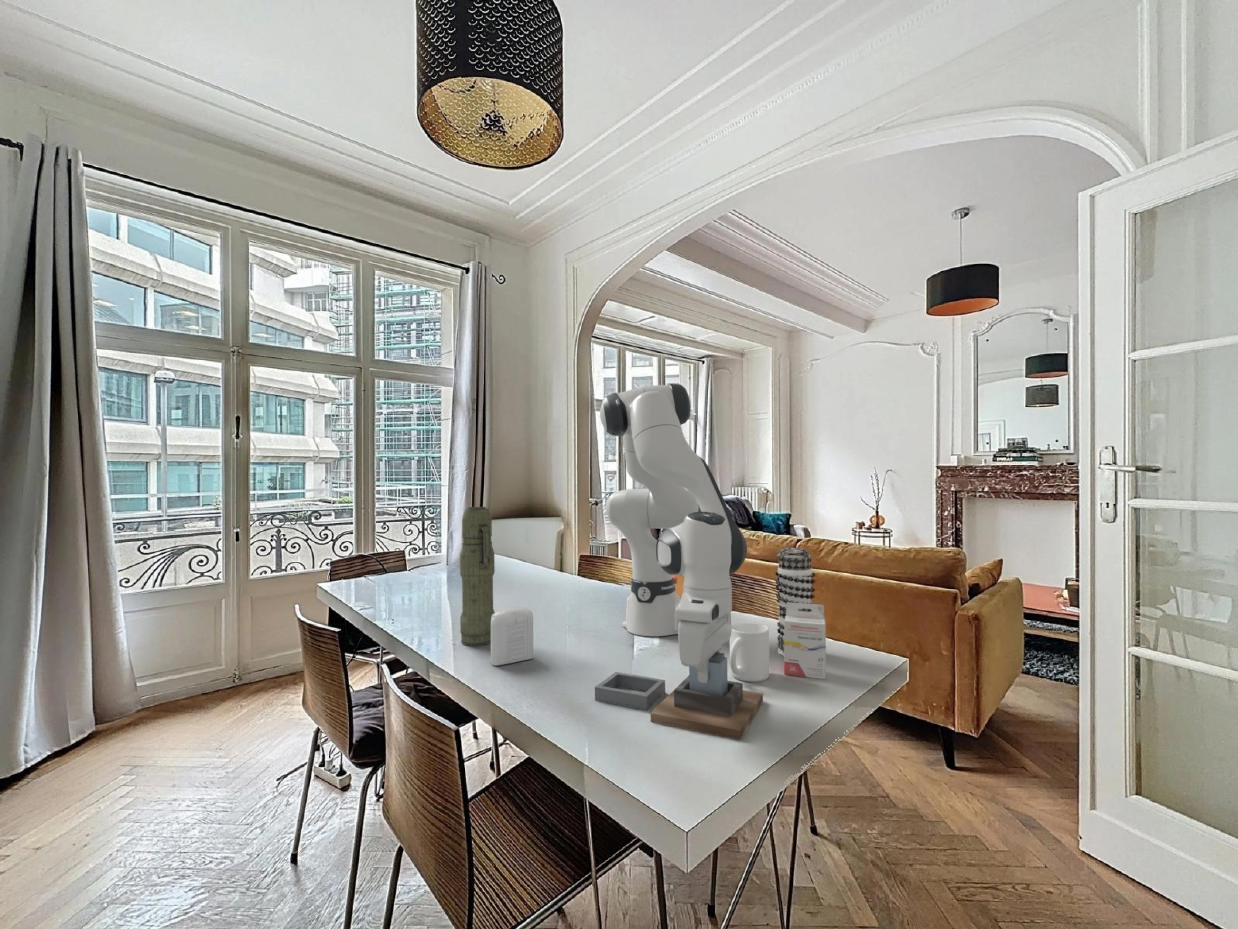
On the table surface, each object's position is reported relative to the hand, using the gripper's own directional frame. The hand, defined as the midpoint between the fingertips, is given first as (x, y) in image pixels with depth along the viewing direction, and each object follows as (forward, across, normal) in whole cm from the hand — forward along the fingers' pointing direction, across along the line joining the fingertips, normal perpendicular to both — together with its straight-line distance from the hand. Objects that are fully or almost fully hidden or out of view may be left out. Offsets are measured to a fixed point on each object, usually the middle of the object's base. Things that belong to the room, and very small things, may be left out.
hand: (708, 676), depth 104 cm
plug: (+4, 0, 0) cm, 4 cm away
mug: (+7, -19, +2) cm, 20 cm away
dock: (+6, 0, 0) cm, 6 cm away
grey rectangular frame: (+6, 0, -16) cm, 17 cm away
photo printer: (+7, -7, -50) cm, 51 cm away
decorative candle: (+7, -40, +9) cm, 41 cm away
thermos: (+7, -16, -68) cm, 70 cm away
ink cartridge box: (+7, -27, +13) cm, 31 cm away
